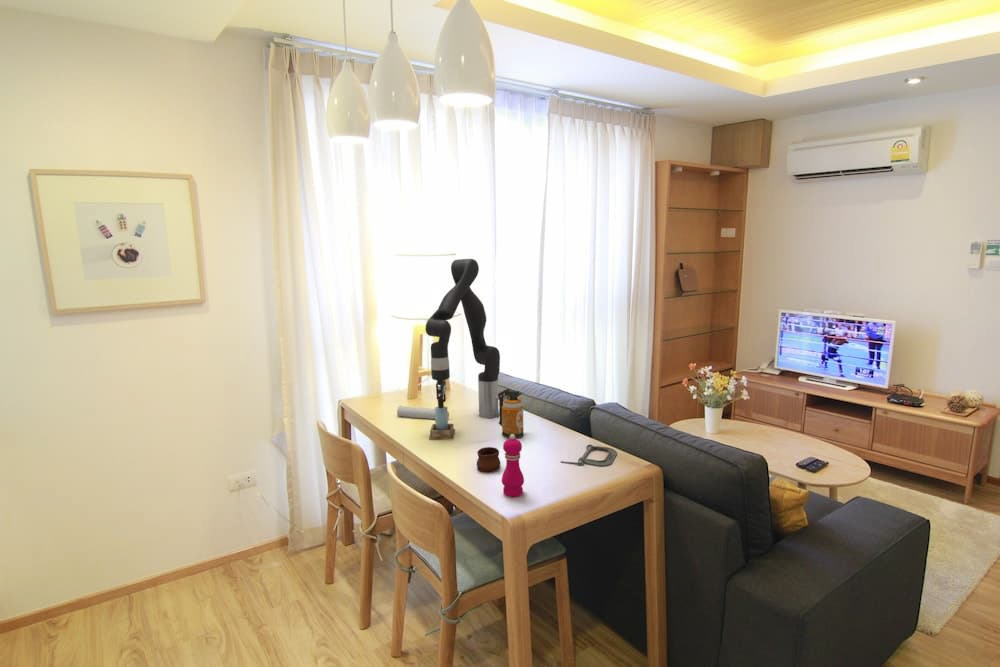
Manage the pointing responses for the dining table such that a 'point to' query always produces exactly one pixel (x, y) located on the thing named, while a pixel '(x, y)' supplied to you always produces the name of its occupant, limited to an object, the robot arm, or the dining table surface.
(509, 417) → the canister
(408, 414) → the tube
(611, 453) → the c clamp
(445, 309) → the robot arm
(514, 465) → the pepper mill
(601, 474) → the dining table surface
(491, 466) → the ceramic pot
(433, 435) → the holder
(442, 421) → the roll
